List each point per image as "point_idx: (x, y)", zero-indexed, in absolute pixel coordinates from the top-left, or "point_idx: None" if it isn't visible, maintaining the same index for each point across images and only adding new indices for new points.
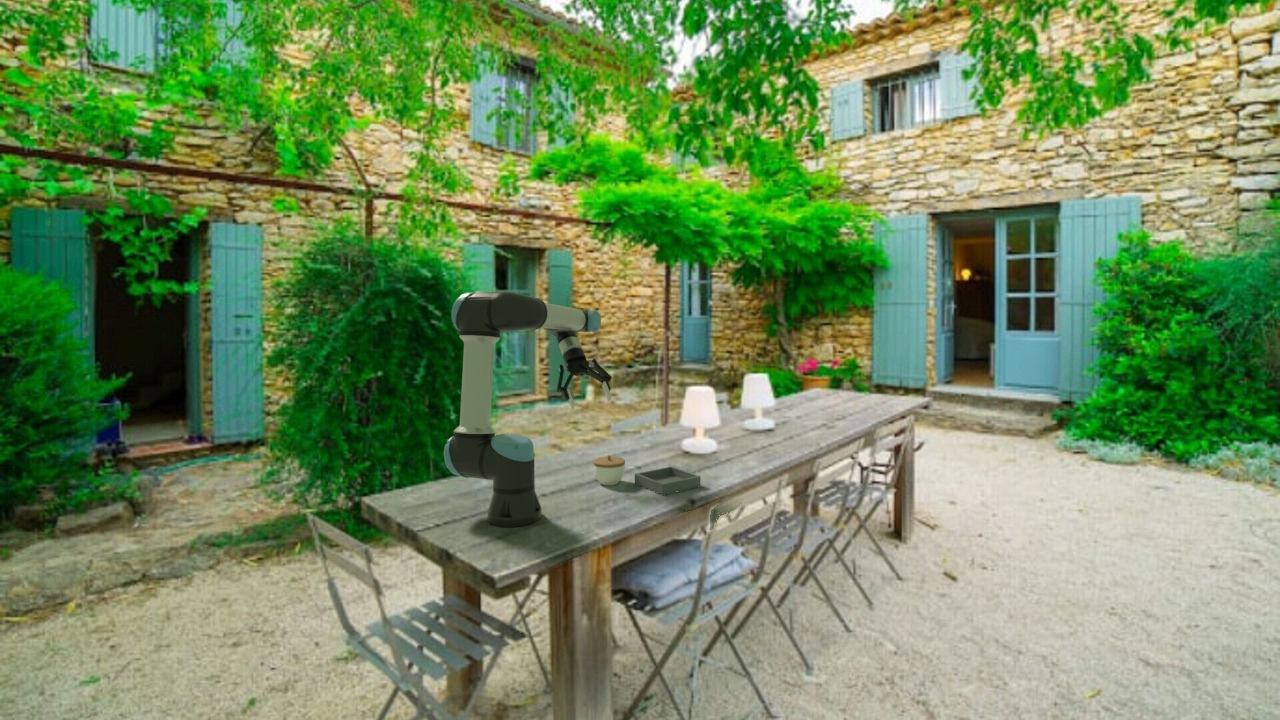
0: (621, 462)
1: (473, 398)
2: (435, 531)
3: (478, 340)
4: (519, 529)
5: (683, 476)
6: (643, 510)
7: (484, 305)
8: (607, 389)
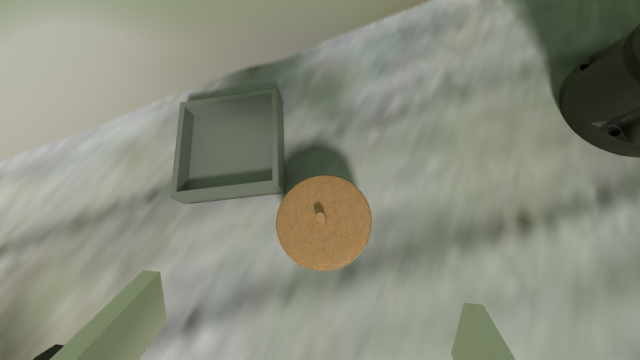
0: (303, 181)
1: None
2: None
3: None
4: None
5: (187, 152)
6: (358, 49)
7: None
8: (94, 330)
